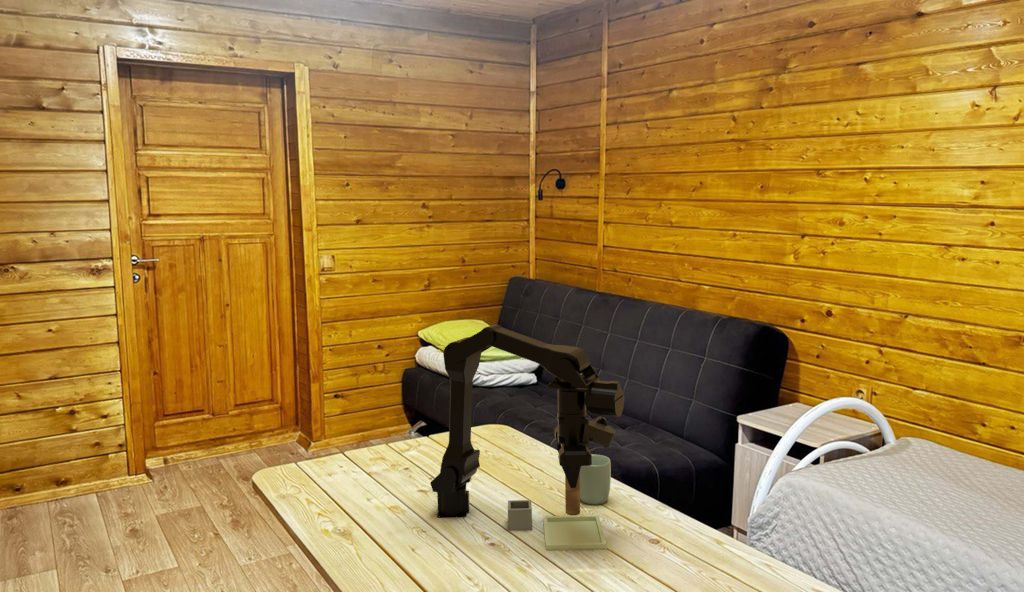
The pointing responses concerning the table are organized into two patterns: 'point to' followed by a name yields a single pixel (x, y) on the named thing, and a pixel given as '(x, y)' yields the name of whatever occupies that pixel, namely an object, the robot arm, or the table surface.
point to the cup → (595, 480)
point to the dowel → (572, 498)
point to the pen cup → (519, 515)
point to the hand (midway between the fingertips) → (572, 484)
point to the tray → (573, 532)
